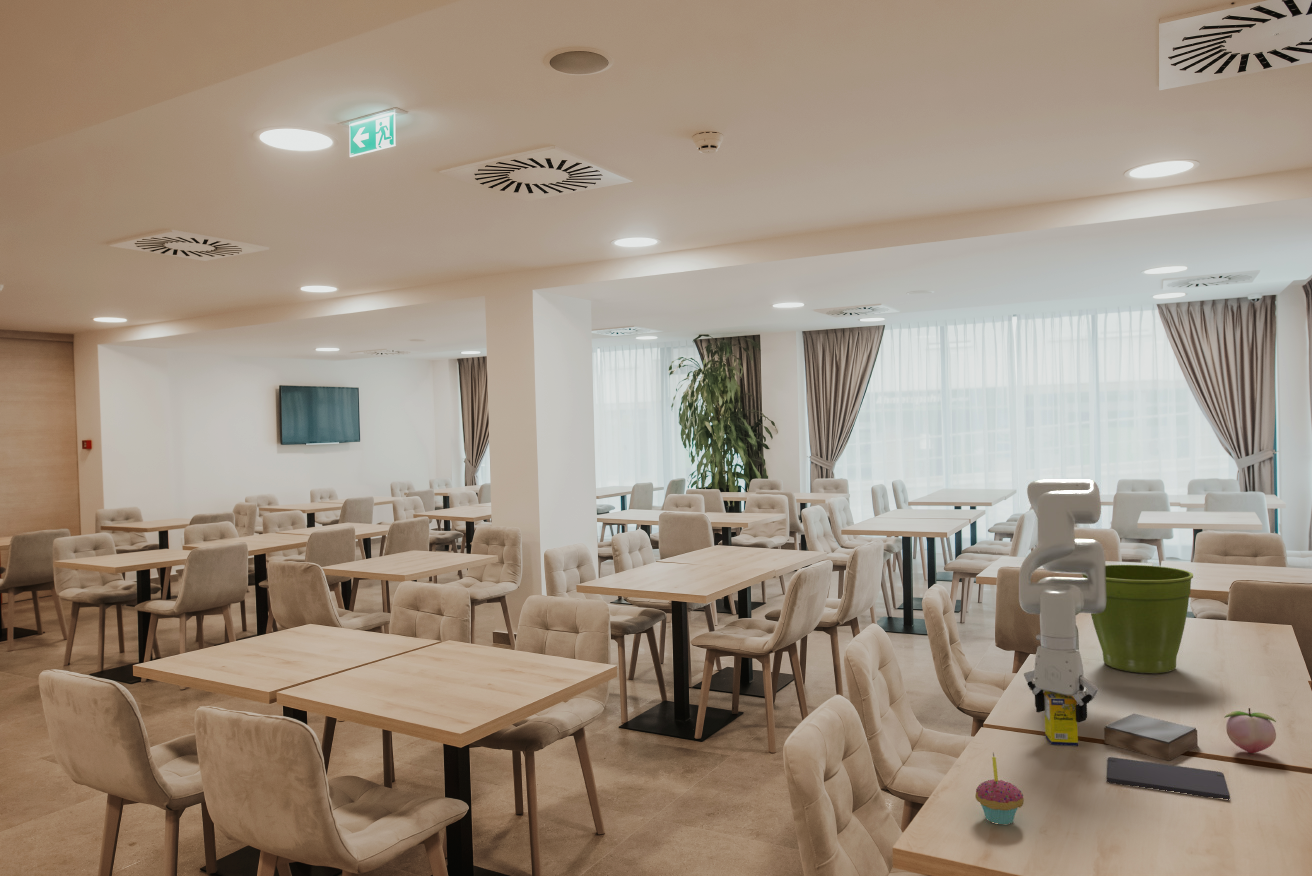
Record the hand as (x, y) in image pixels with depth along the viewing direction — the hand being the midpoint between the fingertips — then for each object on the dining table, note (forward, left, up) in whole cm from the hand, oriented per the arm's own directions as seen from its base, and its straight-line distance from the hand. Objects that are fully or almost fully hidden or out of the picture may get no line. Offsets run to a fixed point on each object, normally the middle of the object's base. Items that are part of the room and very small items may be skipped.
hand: (1060, 716), depth 200 cm
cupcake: (+14, -47, -6) cm, 49 cm away
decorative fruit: (+30, +24, -6) cm, 39 cm away
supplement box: (0, 0, -6) cm, 6 cm away
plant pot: (-18, +76, -6) cm, 79 cm away
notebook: (+25, -5, -7) cm, 26 cm away
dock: (+14, +13, -6) cm, 20 cm away
